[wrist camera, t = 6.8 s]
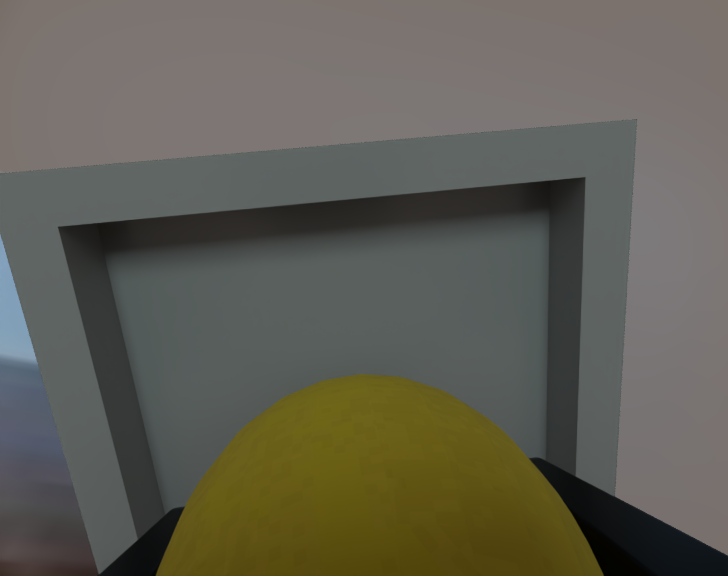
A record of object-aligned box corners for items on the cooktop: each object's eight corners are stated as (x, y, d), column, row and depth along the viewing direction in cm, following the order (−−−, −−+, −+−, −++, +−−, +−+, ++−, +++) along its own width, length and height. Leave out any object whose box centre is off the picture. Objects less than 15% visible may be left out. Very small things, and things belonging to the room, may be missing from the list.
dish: (566, 547, 13) (608, 609, 11) (160, 610, 13) (132, 688, 11) (578, 130, 10) (637, 118, 9) (51, 176, 10) (-18, 174, 8)
